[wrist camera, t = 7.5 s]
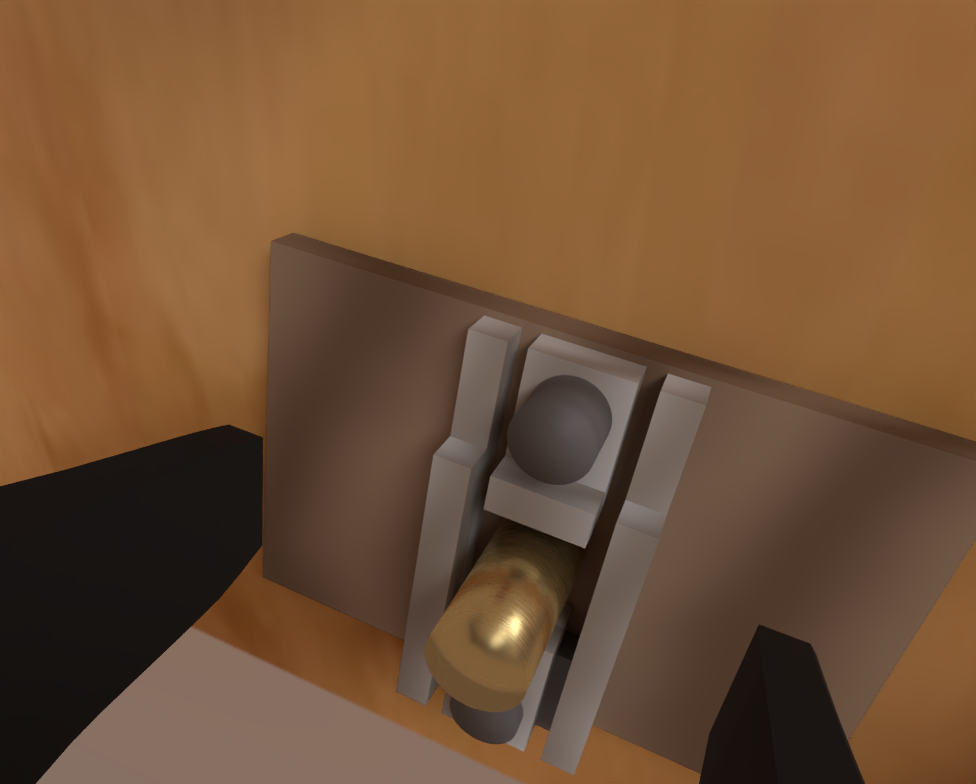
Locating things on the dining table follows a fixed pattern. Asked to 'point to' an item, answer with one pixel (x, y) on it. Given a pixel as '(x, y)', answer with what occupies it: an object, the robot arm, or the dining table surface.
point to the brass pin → (503, 617)
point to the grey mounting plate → (591, 499)
